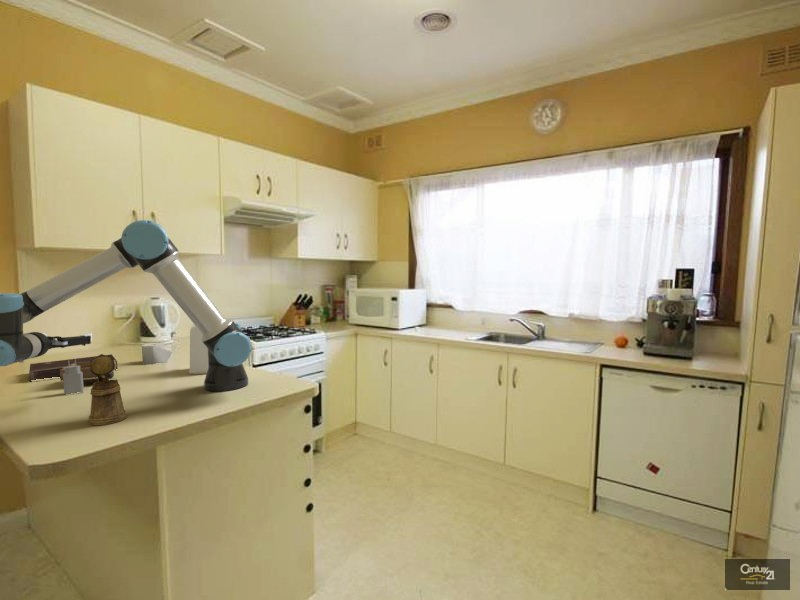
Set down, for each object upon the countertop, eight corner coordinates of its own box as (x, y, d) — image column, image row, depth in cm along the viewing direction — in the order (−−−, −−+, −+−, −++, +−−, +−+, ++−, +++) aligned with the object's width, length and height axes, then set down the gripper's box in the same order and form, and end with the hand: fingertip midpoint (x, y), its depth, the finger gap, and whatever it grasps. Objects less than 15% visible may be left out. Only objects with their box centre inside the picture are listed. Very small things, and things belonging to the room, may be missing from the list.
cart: (105, 384, 159) (104, 366, 159) (61, 388, 154) (59, 370, 154) (116, 376, 172) (115, 359, 172) (76, 379, 167) (74, 362, 167)
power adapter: (64, 393, 148) (62, 360, 147) (83, 390, 151) (81, 358, 150) (64, 395, 145) (61, 361, 145) (83, 392, 149) (81, 359, 148)
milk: (230, 367, 186) (227, 309, 184) (216, 373, 174) (213, 311, 173) (205, 367, 187) (202, 309, 185) (189, 373, 175) (186, 312, 174)
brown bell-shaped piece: (122, 409, 129) (119, 351, 128) (128, 420, 119) (124, 358, 118) (87, 415, 123) (83, 355, 122) (90, 428, 113) (85, 363, 112)
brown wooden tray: (30, 383, 165) (29, 371, 165) (31, 375, 179) (30, 363, 179) (117, 371, 184) (116, 360, 183) (112, 364, 198) (111, 354, 198)
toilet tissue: (170, 362, 197) (169, 345, 197) (139, 364, 194) (138, 346, 194) (176, 359, 206) (175, 342, 206) (146, 361, 203) (145, 343, 202)
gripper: (-24, 359, 119) (25, 347, 139) (76, 358, 124) (109, 347, 145) (-24, 333, 118) (25, 325, 139) (76, 333, 124) (109, 326, 145)
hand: (68, 336), depth 142 cm, fingers open, 13 cm apart
